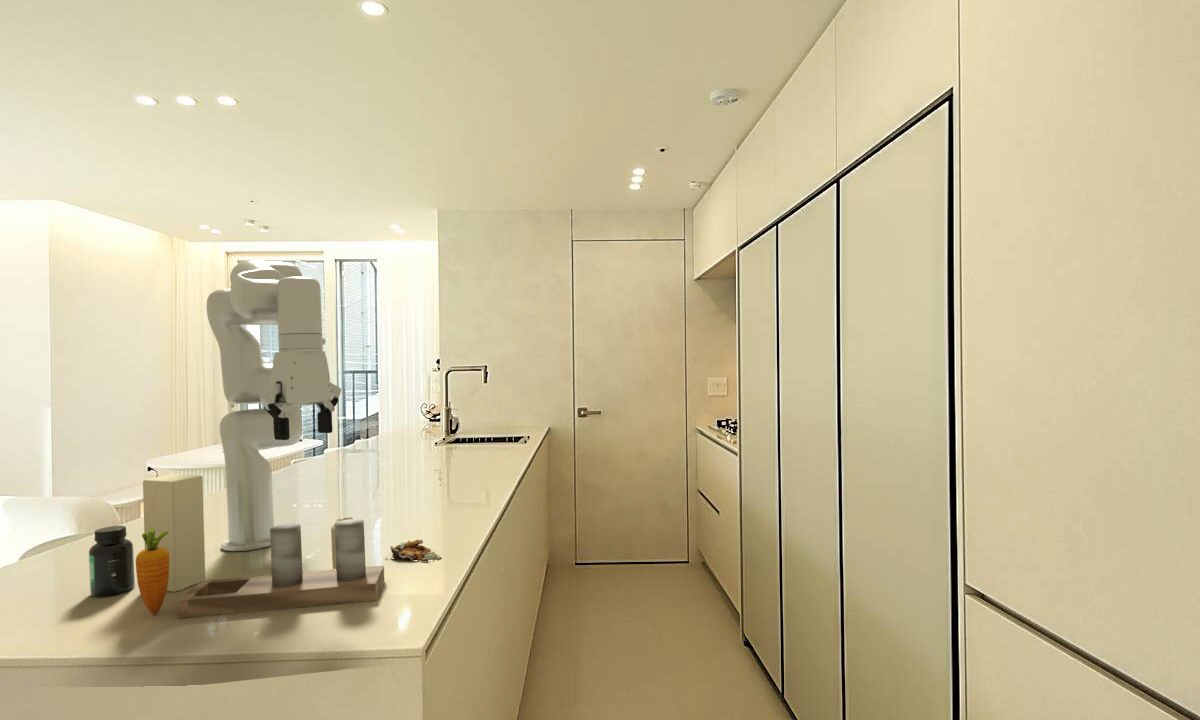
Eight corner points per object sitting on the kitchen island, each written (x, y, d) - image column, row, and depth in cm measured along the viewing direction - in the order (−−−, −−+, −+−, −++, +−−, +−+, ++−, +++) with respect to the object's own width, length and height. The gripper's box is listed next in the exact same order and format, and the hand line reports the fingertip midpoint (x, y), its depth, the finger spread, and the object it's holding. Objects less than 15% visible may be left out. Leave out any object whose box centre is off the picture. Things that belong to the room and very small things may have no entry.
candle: (351, 572, 133) (349, 522, 133) (326, 571, 134) (325, 522, 134) (366, 563, 139) (364, 515, 138) (342, 562, 140) (340, 515, 140)
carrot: (148, 609, 116) (144, 524, 116) (178, 607, 117) (174, 523, 116) (130, 621, 111) (127, 532, 111) (161, 619, 112) (158, 531, 111)
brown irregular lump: (432, 565, 137) (431, 549, 137) (382, 561, 141) (382, 545, 141) (449, 555, 144) (448, 539, 144) (401, 552, 147) (401, 536, 147)
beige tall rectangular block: (210, 579, 131) (206, 474, 131) (175, 592, 124) (171, 481, 124) (180, 576, 134) (176, 473, 134) (145, 588, 127) (140, 480, 127)
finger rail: (203, 596, 122) (200, 526, 122) (384, 581, 127) (381, 513, 127) (178, 618, 112) (175, 542, 112) (375, 600, 117) (373, 527, 117)
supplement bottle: (86, 600, 122) (83, 535, 122) (94, 589, 128) (92, 527, 128) (131, 593, 125) (129, 530, 125) (137, 582, 131) (134, 522, 131)
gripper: (323, 344, 132) (326, 429, 133) (244, 345, 117) (248, 442, 117) (351, 343, 129) (354, 430, 129) (274, 344, 113) (278, 443, 114)
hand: (304, 436), depth 123 cm, fingers open, 9 cm apart
